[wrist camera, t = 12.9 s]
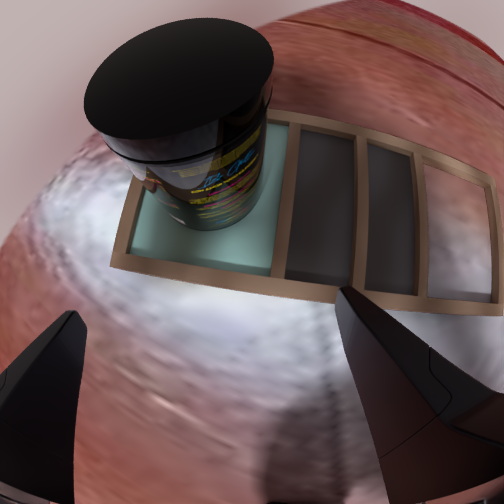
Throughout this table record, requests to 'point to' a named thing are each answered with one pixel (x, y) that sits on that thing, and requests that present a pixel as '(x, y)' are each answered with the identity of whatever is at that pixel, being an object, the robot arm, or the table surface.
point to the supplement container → (189, 116)
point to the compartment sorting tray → (317, 223)
